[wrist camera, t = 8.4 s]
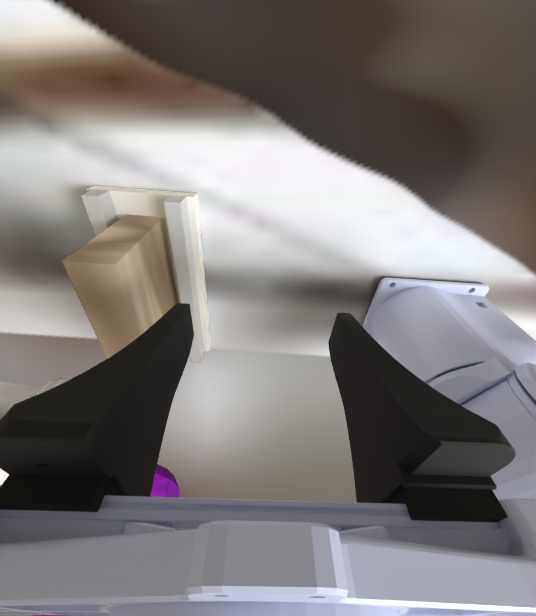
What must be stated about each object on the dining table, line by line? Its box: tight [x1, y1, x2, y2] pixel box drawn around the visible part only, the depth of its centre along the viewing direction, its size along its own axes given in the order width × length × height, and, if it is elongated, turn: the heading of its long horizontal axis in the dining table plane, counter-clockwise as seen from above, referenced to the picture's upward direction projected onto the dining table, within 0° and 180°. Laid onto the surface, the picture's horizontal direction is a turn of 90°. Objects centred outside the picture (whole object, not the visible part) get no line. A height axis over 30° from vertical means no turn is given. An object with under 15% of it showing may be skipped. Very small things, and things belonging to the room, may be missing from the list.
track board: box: [81, 185, 211, 363], centre depth 21 cm, size 7×15×2 cm, turn 176°
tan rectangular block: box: [62, 214, 178, 359], centre depth 19 cm, size 2×12×7 cm, turn 176°
